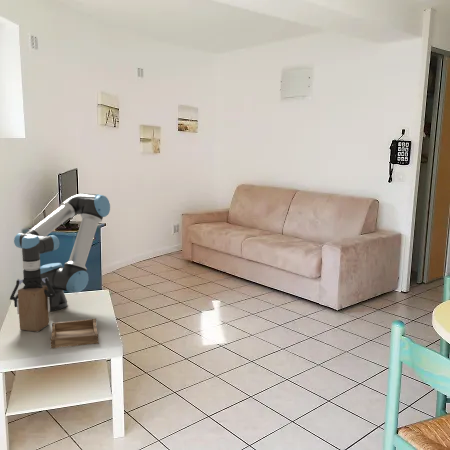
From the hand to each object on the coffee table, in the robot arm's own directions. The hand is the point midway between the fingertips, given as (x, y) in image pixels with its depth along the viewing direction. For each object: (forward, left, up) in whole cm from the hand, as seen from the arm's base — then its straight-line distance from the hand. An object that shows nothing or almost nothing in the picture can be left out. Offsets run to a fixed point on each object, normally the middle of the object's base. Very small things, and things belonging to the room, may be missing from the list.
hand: (34, 312), depth 226 cm
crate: (+16, +18, -8) cm, 25 cm away
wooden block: (0, 0, -8) cm, 8 cm away
